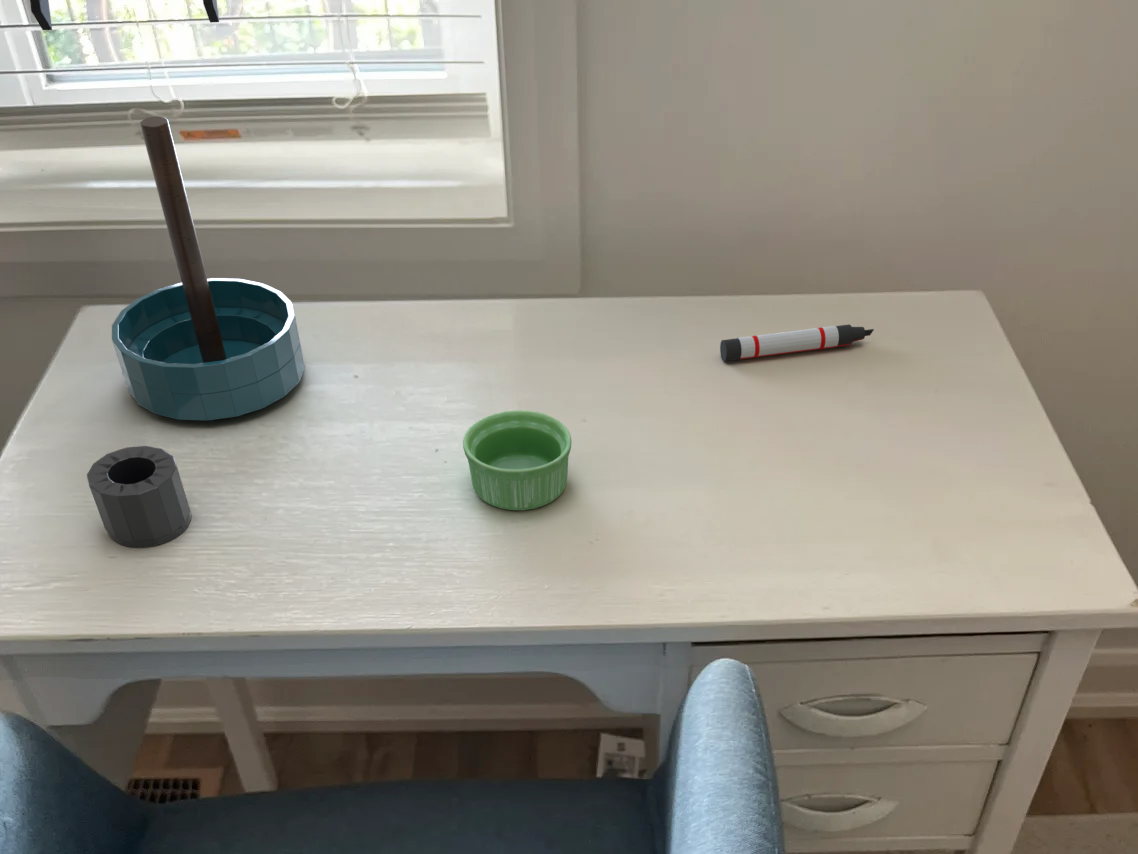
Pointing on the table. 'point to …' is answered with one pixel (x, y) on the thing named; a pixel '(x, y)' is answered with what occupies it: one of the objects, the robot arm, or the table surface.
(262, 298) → the bowl
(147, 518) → the crock
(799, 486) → the table surface
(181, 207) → the stick
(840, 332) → the marker
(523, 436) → the ramekin
